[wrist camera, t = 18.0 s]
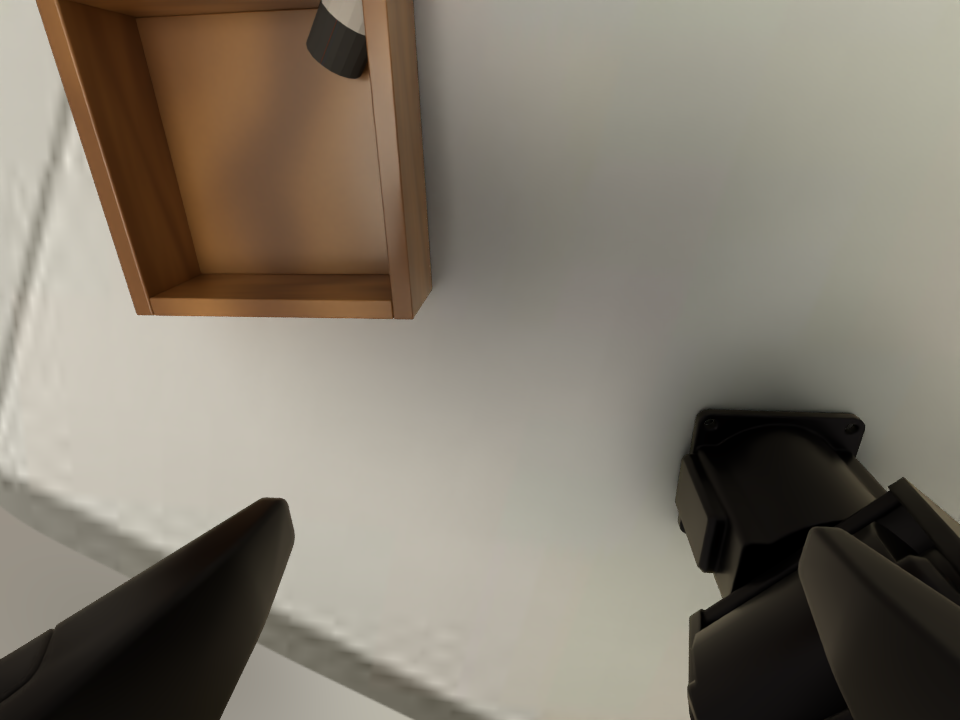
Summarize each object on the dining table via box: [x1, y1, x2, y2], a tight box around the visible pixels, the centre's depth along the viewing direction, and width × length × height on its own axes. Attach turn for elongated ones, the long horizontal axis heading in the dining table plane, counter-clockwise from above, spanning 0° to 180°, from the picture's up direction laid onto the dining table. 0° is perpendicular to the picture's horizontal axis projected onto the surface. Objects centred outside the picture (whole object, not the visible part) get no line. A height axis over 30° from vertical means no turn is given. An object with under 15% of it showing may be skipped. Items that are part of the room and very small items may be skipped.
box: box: [36, 0, 432, 319], centre depth 18 cm, size 10×10×4 cm
